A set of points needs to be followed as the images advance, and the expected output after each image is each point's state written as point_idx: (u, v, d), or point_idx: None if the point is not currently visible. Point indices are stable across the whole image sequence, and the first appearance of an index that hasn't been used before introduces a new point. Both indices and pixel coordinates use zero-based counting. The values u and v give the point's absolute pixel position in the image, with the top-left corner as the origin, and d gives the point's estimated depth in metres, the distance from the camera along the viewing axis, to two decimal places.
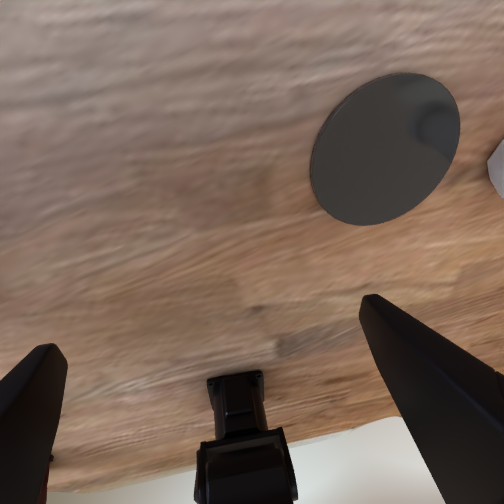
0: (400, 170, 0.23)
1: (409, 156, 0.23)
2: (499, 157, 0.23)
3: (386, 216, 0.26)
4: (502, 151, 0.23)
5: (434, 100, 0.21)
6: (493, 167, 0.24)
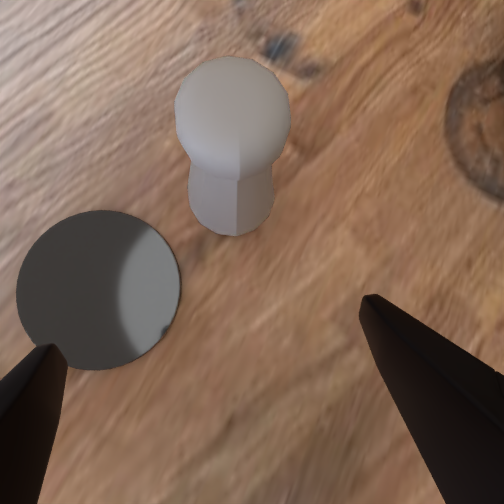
0: (123, 285, 0.22)
1: (119, 270, 0.22)
2: None
3: (156, 331, 0.22)
4: None
5: (96, 223, 0.22)
6: None
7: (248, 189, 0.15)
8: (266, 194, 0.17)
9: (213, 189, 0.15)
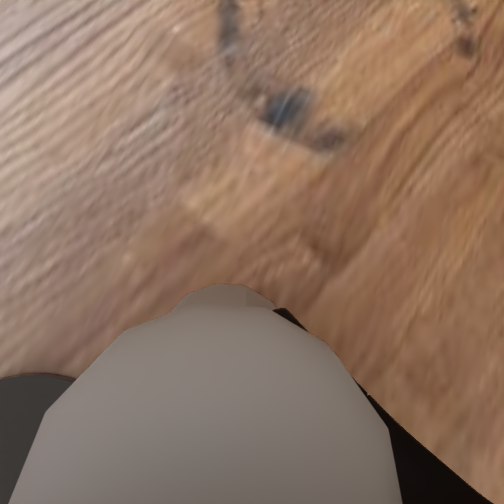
0: None
1: None
2: None
3: None
4: None
5: (13, 398, 0.14)
6: None
7: None
8: None
9: None
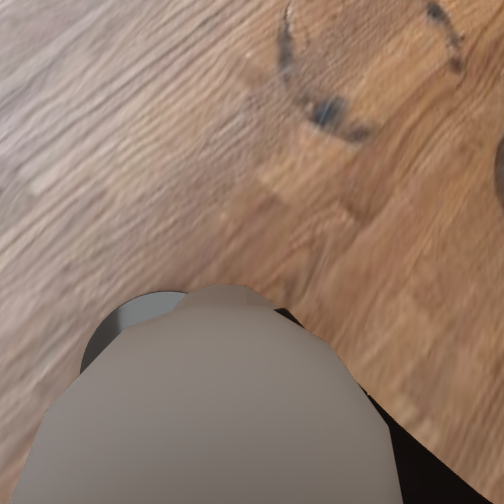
0: None
1: None
2: None
3: None
4: None
5: (157, 305, 0.21)
6: None
7: None
8: None
9: None
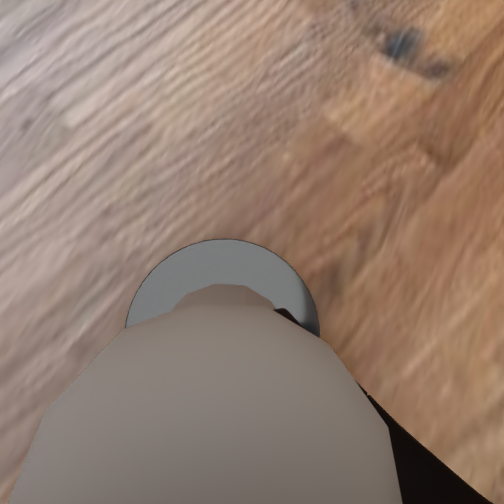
0: None
1: None
2: None
3: None
4: None
5: (214, 254, 0.18)
6: None
7: None
8: None
9: None
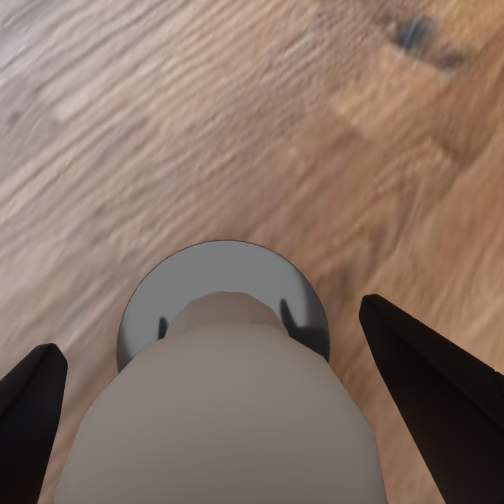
0: None
1: None
2: None
3: None
4: None
5: (215, 257, 0.17)
6: None
7: None
8: None
9: None
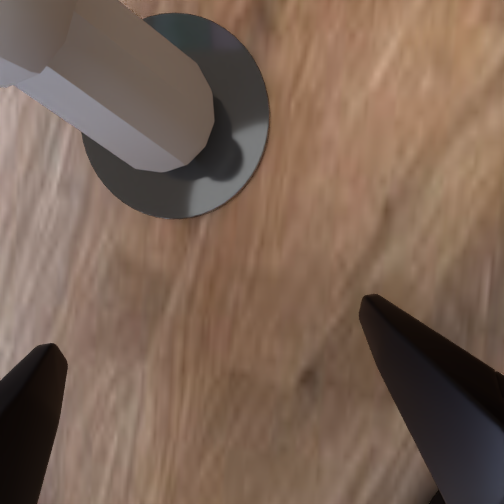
0: None
1: None
2: None
3: (256, 139, 0.17)
4: None
5: None
6: None
7: (114, 87, 0.09)
8: (167, 84, 0.11)
9: (71, 113, 0.10)
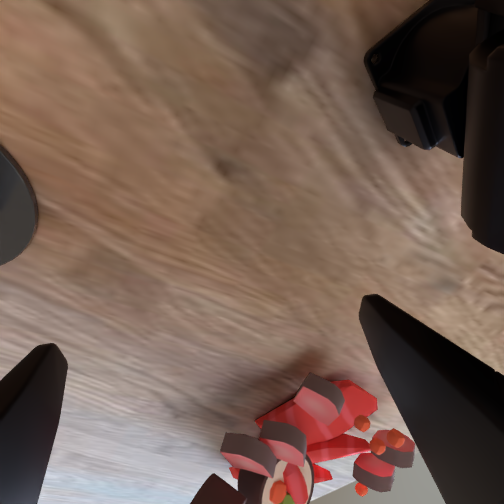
0: None
1: None
2: None
3: None
4: None
5: None
6: None
7: None
8: None
9: None
